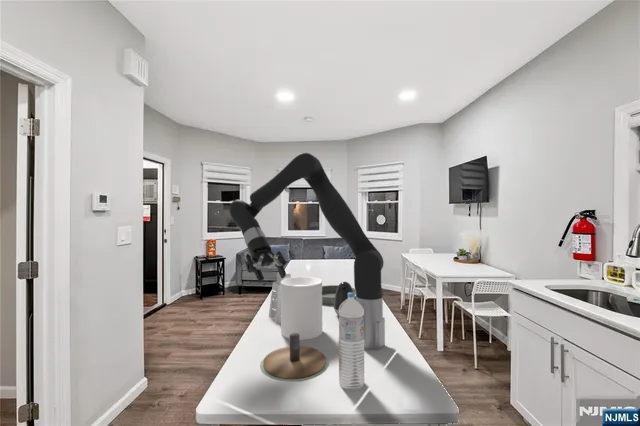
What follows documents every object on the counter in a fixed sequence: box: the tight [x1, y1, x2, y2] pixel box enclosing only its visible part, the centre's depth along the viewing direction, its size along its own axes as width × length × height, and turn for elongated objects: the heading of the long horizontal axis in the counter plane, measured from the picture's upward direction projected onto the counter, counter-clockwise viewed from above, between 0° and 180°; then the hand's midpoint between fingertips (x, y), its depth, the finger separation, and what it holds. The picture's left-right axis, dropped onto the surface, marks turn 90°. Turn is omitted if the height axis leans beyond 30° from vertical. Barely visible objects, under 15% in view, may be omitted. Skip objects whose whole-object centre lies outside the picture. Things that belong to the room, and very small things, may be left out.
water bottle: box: [338, 292, 365, 392], centre depth 84 cm, size 7×7×25 cm
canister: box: [280, 276, 323, 341], centre depth 121 cm, size 16×16×20 cm
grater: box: [268, 271, 292, 325], centre depth 138 cm, size 10×10×20 cm
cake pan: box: [322, 284, 356, 305], centre depth 168 cm, size 25×25×4 cm
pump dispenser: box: [333, 281, 356, 317], centre depth 140 cm, size 10×10×15 cm
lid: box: [263, 333, 326, 379], centre depth 96 cm, size 19×19×8 cm
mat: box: [259, 355, 330, 383], centre depth 96 cm, size 21×21×1 cm
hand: (273, 278), depth 106 cm, fingers open, 8 cm apart
